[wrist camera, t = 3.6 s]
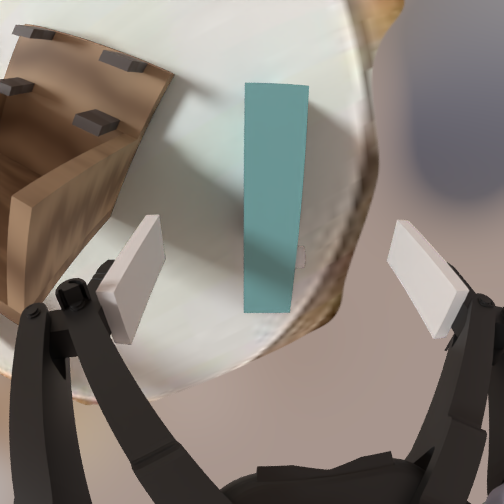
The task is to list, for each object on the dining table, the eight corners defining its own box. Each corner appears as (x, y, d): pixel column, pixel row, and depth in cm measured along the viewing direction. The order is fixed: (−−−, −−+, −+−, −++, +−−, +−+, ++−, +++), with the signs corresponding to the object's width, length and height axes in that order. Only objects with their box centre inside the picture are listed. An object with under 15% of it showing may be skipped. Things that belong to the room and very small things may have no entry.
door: (244, 237, 33) (243, 312, 23) (245, 85, 25) (244, 82, 14) (289, 238, 33) (307, 312, 23) (298, 87, 25) (333, 88, 15)
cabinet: (110, 216, 31) (24, 329, 16) (-7, 153, 26) (-108, 215, 10) (174, 73, 24) (74, 64, 8) (32, 24, 18) (-89, 25, 3)
